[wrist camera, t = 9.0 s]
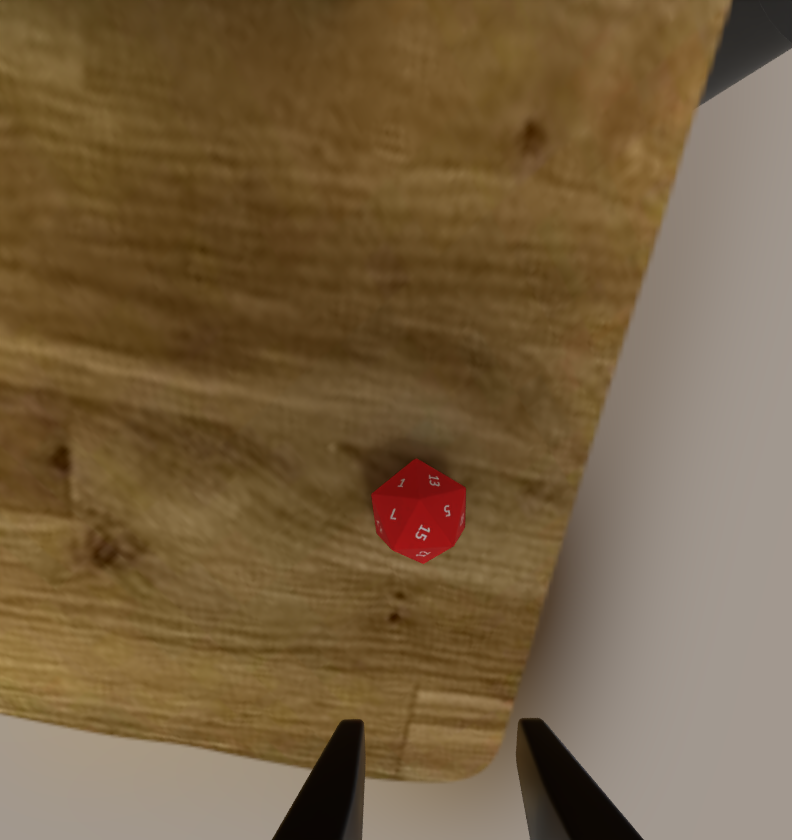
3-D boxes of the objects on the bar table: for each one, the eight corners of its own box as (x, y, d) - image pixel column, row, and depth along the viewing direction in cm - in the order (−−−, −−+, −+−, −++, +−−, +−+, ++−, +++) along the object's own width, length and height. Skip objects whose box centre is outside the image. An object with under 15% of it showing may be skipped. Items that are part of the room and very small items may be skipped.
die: (453, 433, 17) (399, 503, 15) (501, 504, 18) (458, 583, 15) (389, 455, 20) (333, 518, 17) (434, 516, 21) (387, 587, 18)
